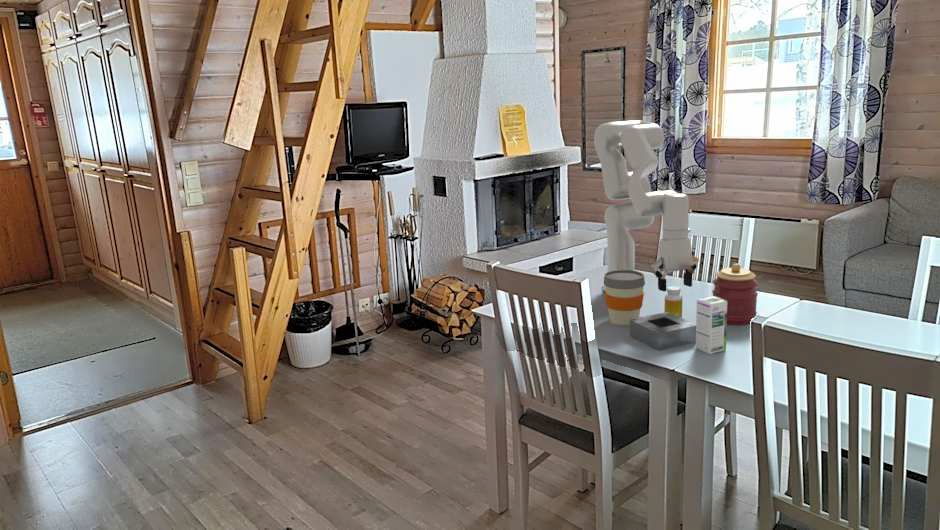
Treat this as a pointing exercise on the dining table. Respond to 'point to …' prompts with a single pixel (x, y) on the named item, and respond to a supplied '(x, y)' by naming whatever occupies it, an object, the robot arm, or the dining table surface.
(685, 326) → the steel collar
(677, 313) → the supplement bottle
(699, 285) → the dining table surface
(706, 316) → the syrup box
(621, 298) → the reusable coffee cup
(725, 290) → the canister
